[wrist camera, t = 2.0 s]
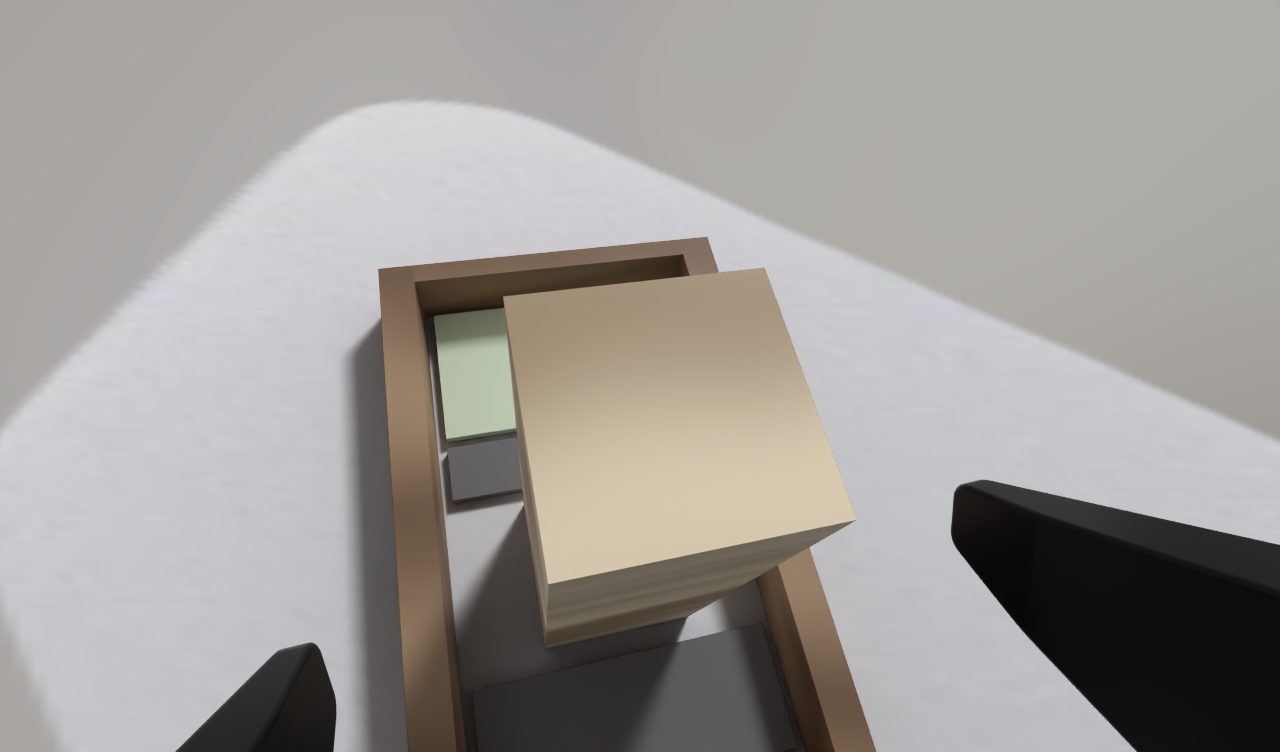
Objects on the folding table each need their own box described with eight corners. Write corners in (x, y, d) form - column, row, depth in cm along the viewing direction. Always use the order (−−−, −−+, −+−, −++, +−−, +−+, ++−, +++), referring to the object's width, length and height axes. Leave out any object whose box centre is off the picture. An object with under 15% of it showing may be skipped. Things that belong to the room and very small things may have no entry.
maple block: (687, 616, 18) (857, 519, 8) (545, 649, 17) (548, 583, 7) (655, 481, 20) (764, 267, 10) (523, 505, 19) (503, 296, 9)
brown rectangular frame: (856, 793, 17) (893, 805, 15) (435, 924, 14) (421, 956, 13) (694, 271, 23) (707, 236, 22) (392, 305, 21) (378, 268, 19)
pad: (696, 403, 21) (698, 399, 21) (447, 442, 19) (446, 438, 19) (665, 293, 23) (667, 289, 23) (435, 320, 21) (433, 316, 21)
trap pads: (793, 746, 17) (797, 747, 17) (487, 833, 15) (486, 836, 15) (699, 411, 21) (701, 408, 21) (448, 451, 19) (447, 448, 19)
